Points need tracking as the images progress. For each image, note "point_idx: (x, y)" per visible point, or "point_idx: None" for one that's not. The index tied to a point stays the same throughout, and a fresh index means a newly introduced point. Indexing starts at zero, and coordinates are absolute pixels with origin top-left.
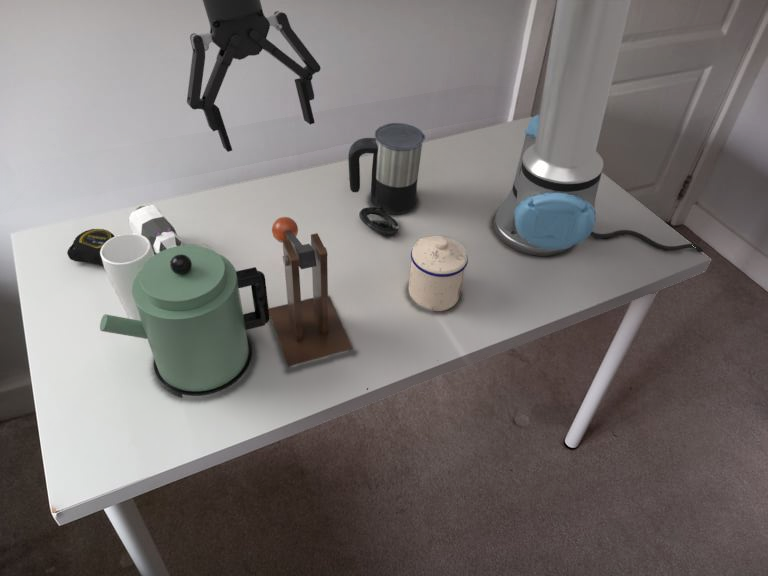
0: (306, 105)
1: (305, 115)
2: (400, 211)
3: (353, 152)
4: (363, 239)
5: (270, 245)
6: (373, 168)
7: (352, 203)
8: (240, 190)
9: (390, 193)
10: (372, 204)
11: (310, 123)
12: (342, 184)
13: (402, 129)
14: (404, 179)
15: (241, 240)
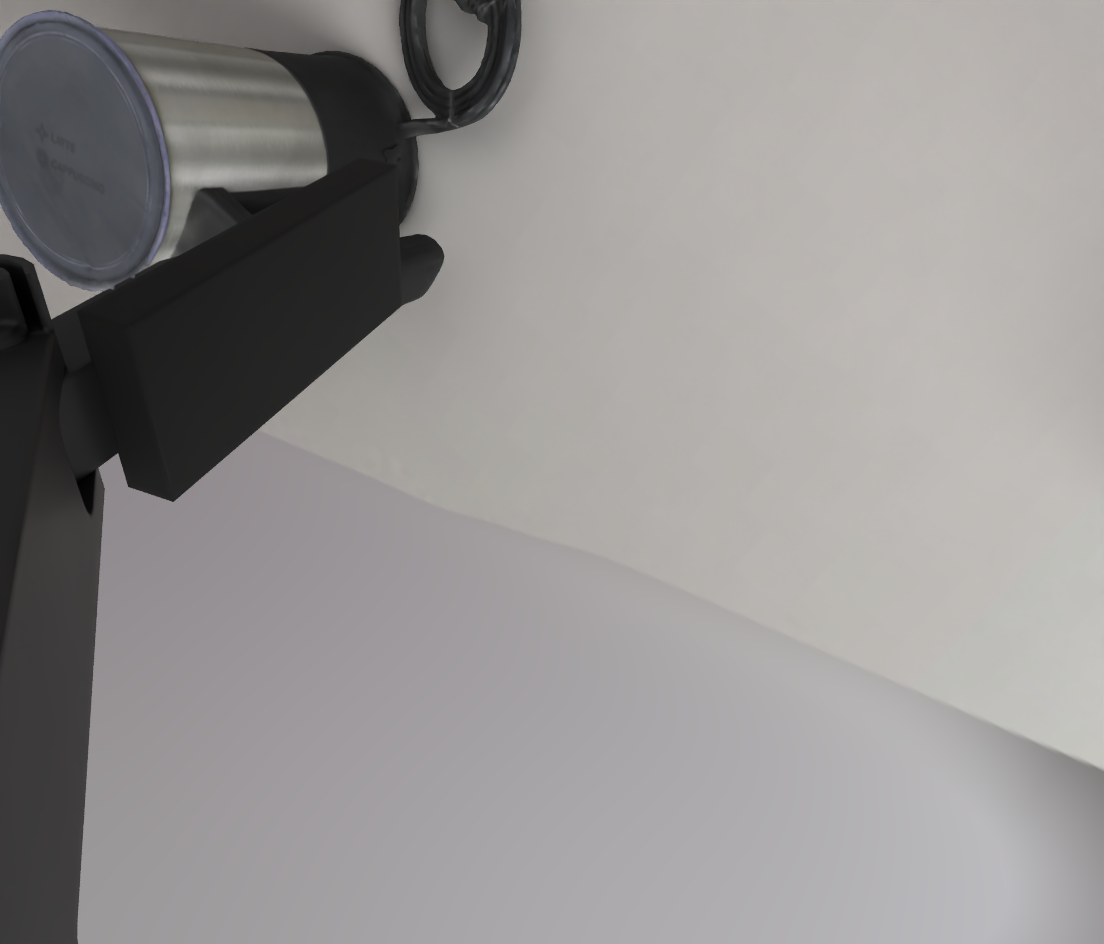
0: (292, 221)
1: (369, 266)
2: (354, 60)
3: None
4: (569, 3)
5: (927, 227)
6: None
7: (473, 248)
8: (779, 619)
9: (329, 90)
10: (416, 182)
11: (390, 168)
12: (440, 374)
13: (43, 202)
14: (232, 49)
15: (1011, 346)
